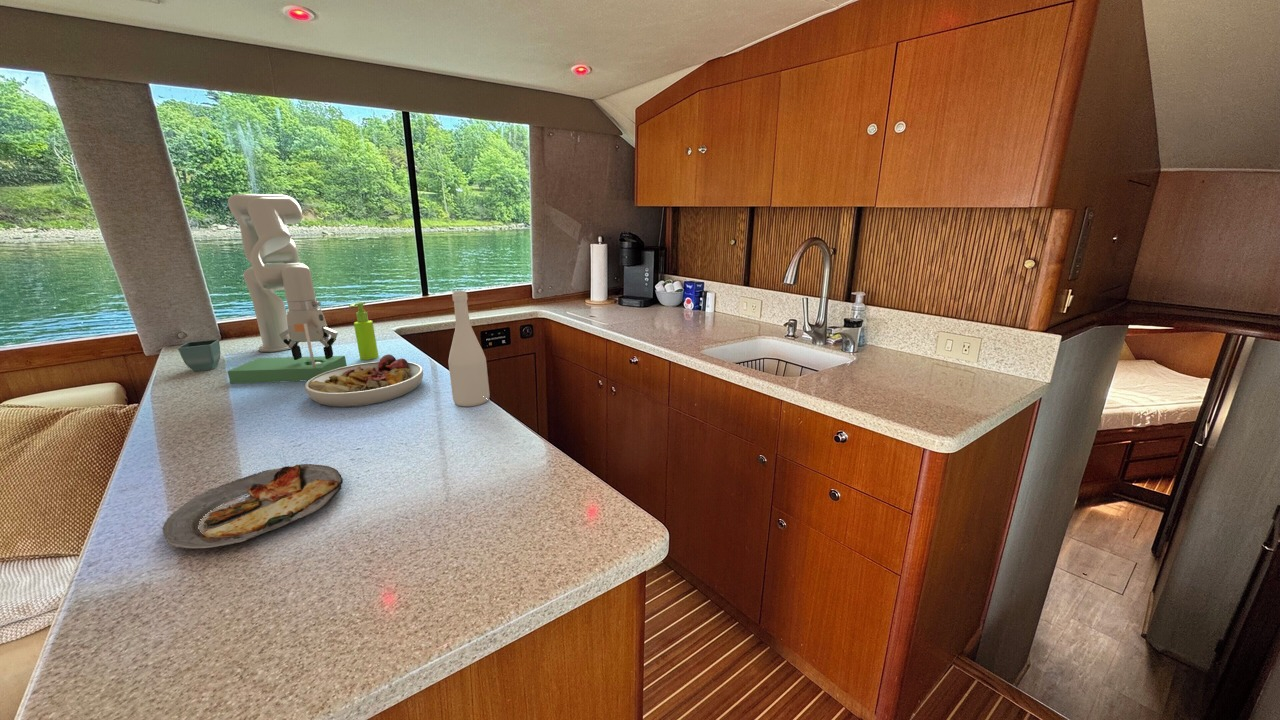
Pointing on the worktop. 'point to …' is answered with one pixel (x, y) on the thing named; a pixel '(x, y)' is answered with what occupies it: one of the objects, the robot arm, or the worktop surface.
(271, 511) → the food plate
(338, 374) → the bowl
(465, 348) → the wine bottle
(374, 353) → the soap dispenser
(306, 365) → the putting mat
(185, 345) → the flower pot
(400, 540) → the worktop surface
